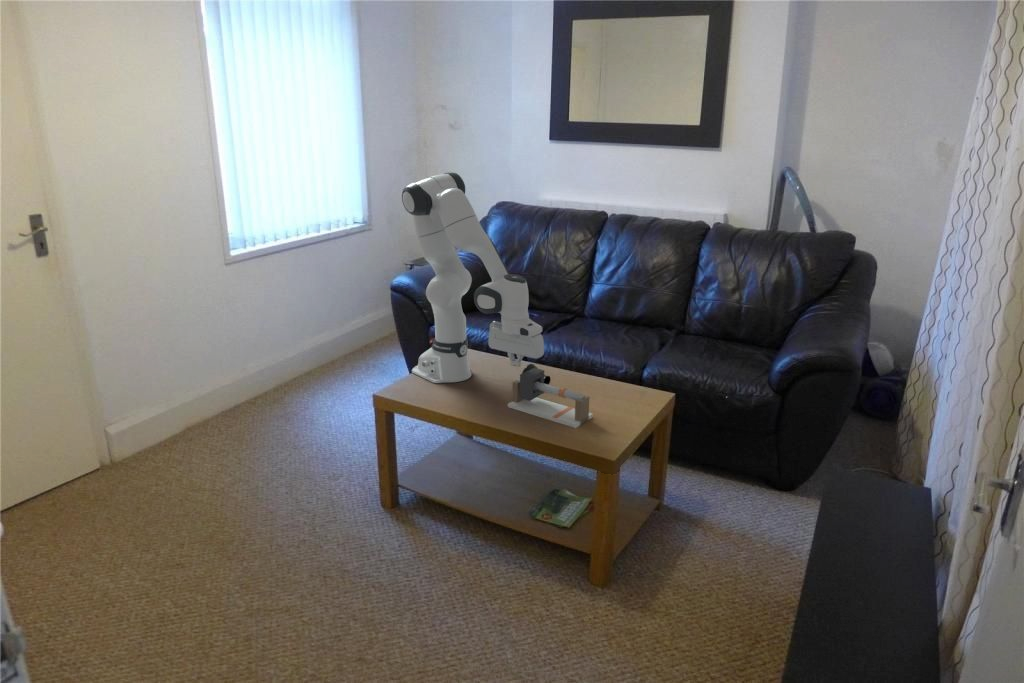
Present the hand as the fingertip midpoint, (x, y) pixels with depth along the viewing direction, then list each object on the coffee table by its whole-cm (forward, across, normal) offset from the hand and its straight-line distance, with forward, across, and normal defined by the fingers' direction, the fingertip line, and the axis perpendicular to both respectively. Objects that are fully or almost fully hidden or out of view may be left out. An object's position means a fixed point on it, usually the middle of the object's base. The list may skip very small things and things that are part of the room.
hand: (515, 365), depth 230 cm
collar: (+9, +6, 0) cm, 11 cm away
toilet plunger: (+13, -4, +11) cm, 18 cm away
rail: (+13, +13, 0) cm, 19 cm away
